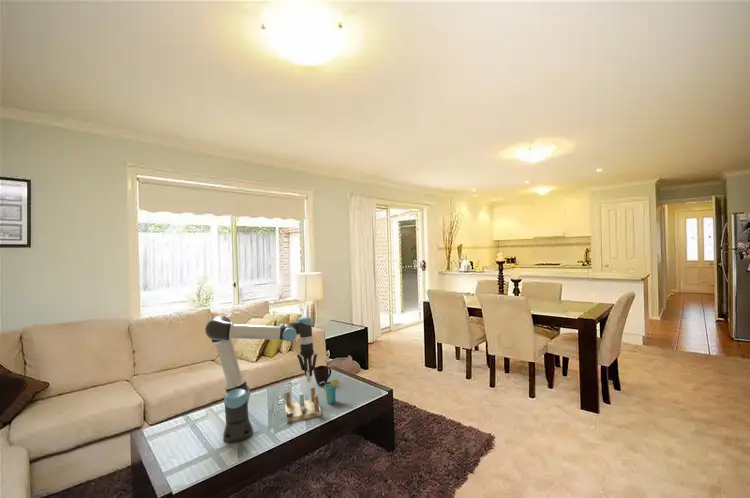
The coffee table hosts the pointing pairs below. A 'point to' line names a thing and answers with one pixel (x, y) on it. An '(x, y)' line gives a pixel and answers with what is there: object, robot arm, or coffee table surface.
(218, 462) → the coffee table surface
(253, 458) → the coffee table surface
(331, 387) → the cup
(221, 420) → the coffee table surface
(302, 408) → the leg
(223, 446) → the coffee table surface
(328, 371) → the mug
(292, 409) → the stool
